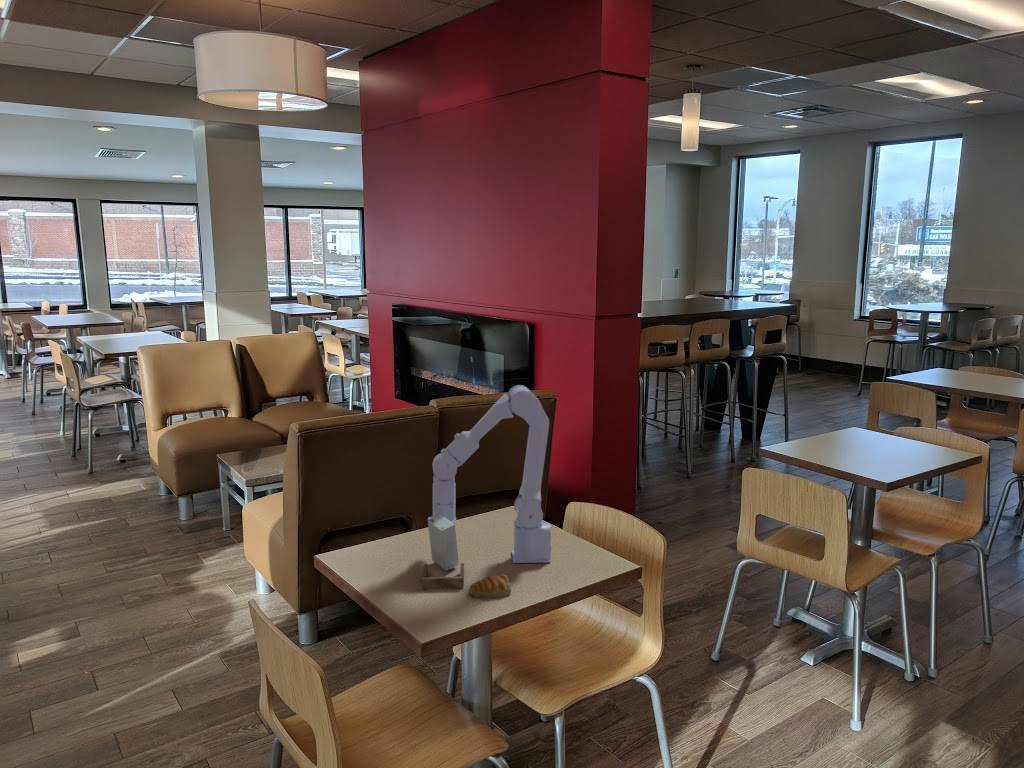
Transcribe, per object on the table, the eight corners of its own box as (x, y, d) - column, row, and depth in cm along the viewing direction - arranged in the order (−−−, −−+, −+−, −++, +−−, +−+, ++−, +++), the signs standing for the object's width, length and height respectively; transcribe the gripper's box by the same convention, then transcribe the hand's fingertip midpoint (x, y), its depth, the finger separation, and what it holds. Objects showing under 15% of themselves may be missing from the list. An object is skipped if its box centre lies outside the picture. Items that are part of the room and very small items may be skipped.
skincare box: (459, 564, 184) (457, 524, 179) (445, 572, 181) (442, 531, 176) (444, 552, 188) (442, 513, 183) (430, 560, 185) (427, 520, 180)
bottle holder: (464, 572, 181) (464, 563, 180) (463, 588, 172) (463, 578, 172) (424, 573, 180) (424, 563, 180) (422, 589, 172) (421, 578, 171)
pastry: (475, 602, 165) (474, 586, 165) (464, 591, 171) (464, 575, 171) (513, 595, 169) (513, 579, 168) (502, 584, 175) (502, 569, 175)
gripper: (430, 492, 193) (429, 542, 195) (425, 510, 179) (425, 564, 181) (457, 492, 193) (456, 542, 195) (455, 511, 179) (454, 564, 181)
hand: (443, 553), depth 188 cm, fingers closed
